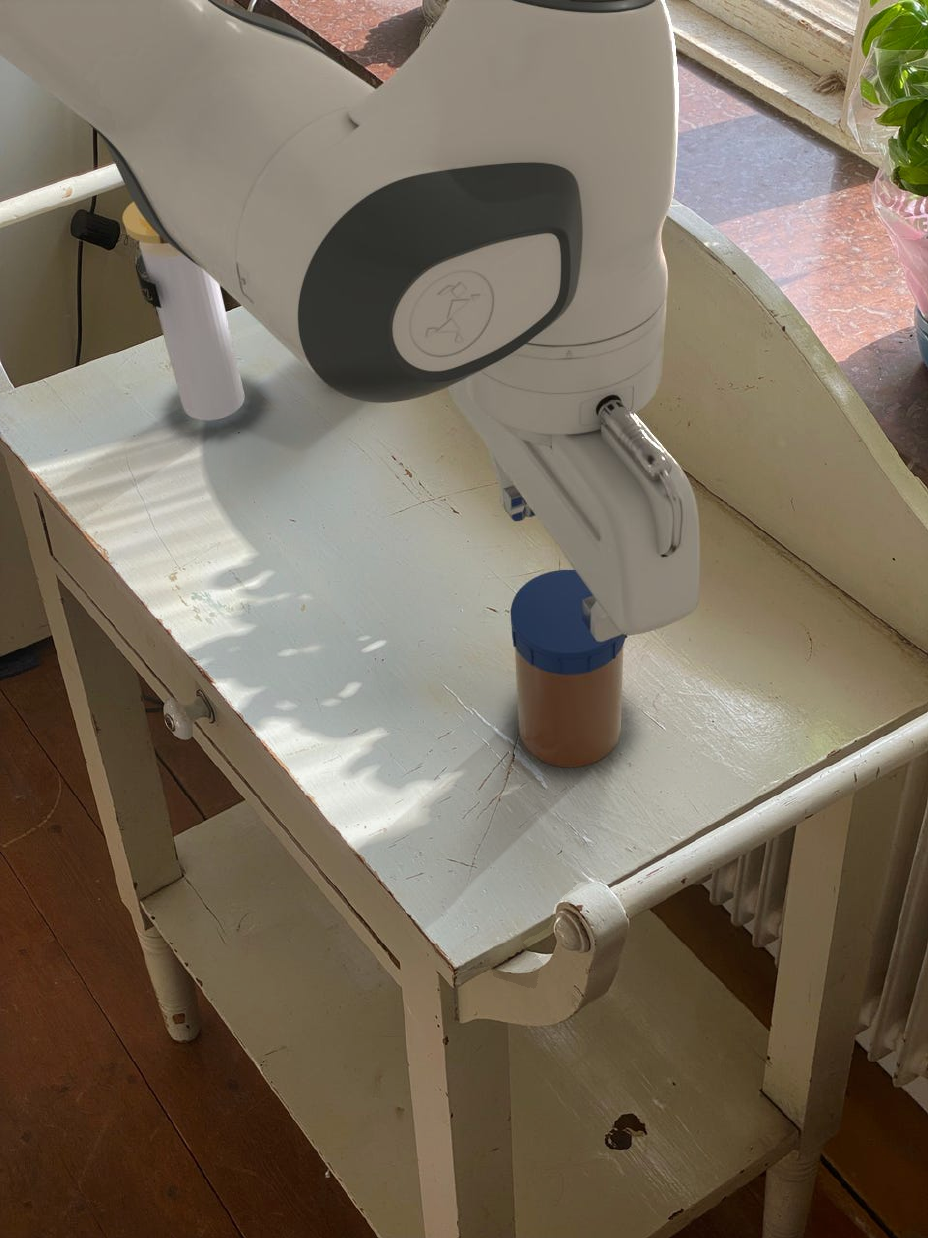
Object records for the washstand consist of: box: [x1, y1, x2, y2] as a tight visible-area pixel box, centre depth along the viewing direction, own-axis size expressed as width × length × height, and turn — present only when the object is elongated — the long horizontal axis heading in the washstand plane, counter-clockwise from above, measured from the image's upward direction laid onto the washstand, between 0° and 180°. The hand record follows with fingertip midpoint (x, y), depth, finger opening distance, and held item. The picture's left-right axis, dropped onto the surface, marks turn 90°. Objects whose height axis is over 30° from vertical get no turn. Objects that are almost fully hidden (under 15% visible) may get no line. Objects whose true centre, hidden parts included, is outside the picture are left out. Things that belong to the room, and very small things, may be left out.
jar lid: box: [510, 568, 628, 675], centre depth 73 cm, size 6×6×2 cm
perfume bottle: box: [121, 201, 246, 421], centre depth 94 cm, size 6×6×20 cm
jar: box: [514, 646, 624, 768], centre depth 76 cm, size 6×6×9 cm
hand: (561, 567), depth 70 cm, fingers open, 8 cm apart
